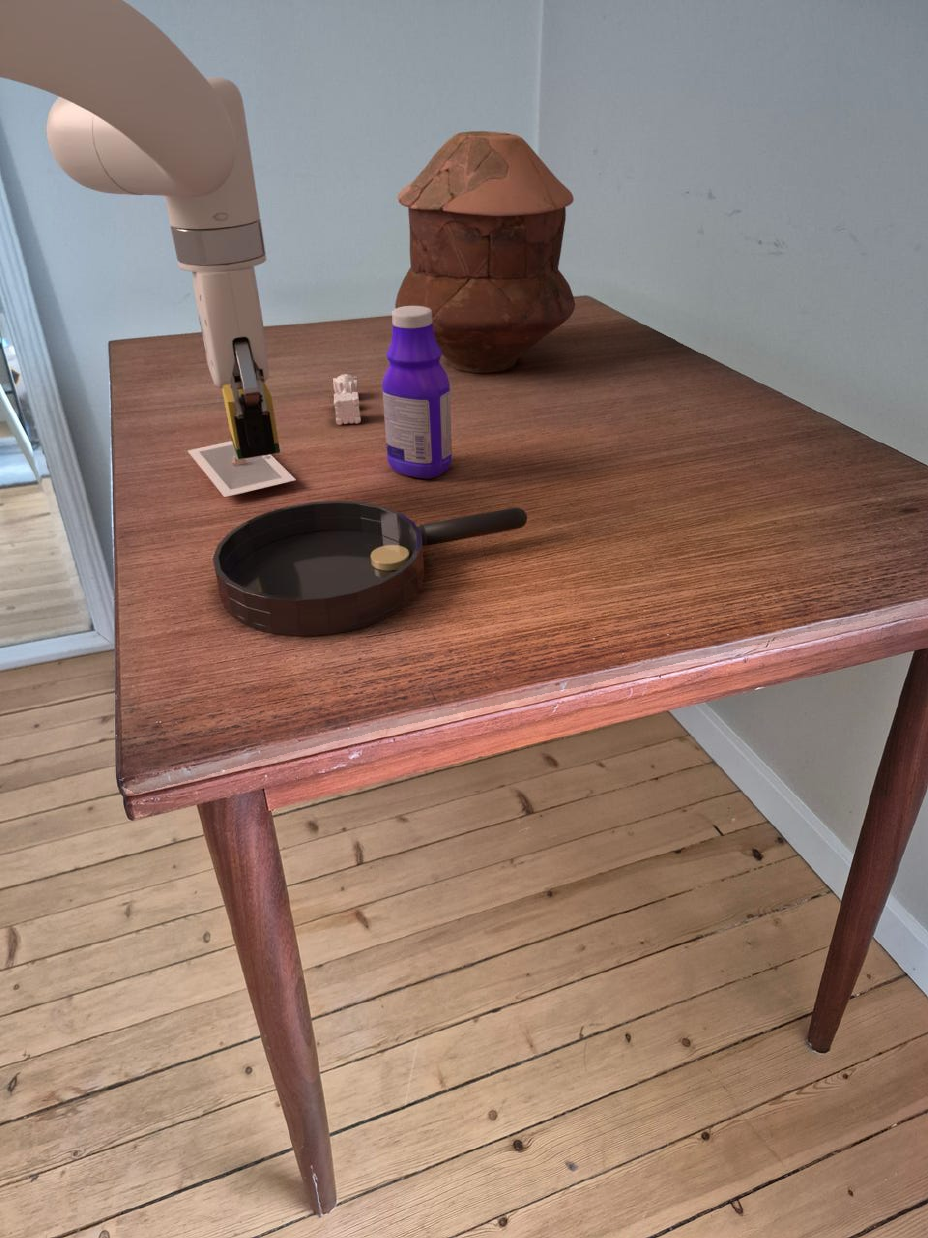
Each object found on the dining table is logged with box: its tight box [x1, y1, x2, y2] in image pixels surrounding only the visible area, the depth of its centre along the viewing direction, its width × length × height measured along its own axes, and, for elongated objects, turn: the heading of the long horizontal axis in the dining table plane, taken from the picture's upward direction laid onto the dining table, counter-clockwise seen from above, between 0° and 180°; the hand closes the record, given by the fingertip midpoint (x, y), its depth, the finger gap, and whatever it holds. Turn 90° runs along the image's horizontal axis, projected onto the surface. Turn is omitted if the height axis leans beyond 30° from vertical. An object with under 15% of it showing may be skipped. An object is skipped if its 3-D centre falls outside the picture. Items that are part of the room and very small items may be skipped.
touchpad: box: [186, 440, 297, 498], centre depth 100 cm, size 8×15×2 cm, turn 29°
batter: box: [371, 545, 410, 571], centre depth 81 cm, size 4×4×1 cm
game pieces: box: [332, 373, 362, 426], centre depth 117 cm, size 12×3×3 cm, turn 7°
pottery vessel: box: [394, 130, 576, 374], centre depth 124 cm, size 26×26×30 cm
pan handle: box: [416, 506, 528, 547], centre depth 82 cm, size 11×2×2 cm, turn 109°
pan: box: [212, 500, 425, 637], centre depth 79 cm, size 18×18×4 cm
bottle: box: [381, 306, 453, 480], centre depth 95 cm, size 7×6×17 cm
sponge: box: [221, 381, 281, 459], centre depth 86 cm, size 4×6×6 cm
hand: (253, 441), depth 87 cm, fingers closed on sponge, 5 cm apart
